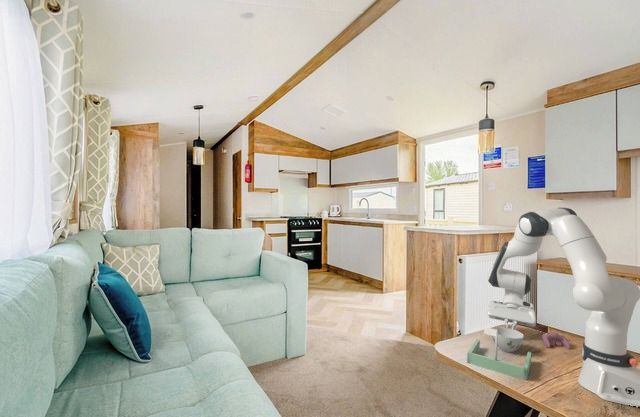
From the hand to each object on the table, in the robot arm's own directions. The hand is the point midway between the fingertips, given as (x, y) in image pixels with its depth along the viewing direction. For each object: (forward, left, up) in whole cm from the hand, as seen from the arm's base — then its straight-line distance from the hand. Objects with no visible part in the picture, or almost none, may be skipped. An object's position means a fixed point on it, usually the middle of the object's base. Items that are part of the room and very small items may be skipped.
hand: (509, 329), depth 152 cm
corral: (0, +28, -5) cm, 28 cm away
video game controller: (-17, -6, -5) cm, 19 cm away
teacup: (0, +12, -5) cm, 13 cm away
